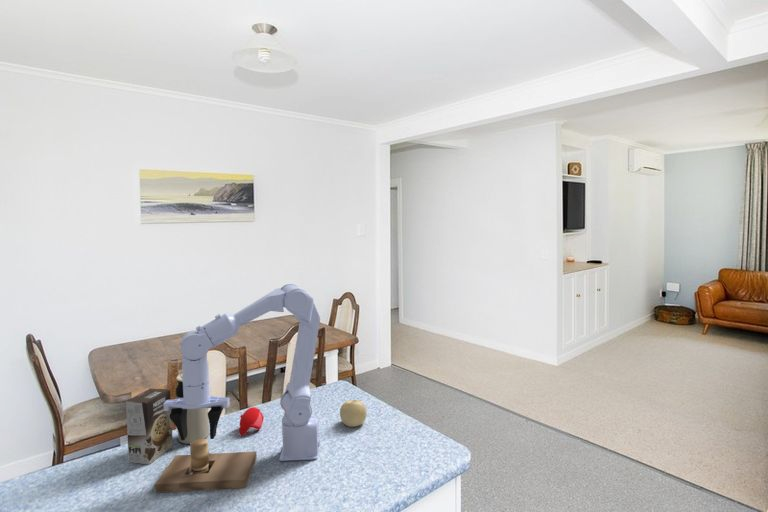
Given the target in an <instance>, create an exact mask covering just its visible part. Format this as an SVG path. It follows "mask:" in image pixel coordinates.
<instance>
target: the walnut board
mask: <svg viewBox="0 0 768 512" xmlns="http://www.w3.org/2000/svg"><path fill="white" fill-rule="evenodd" d="M257 458H258V457H257V451H239V452H236V451H234V452H219V453H218V452H217V453H209V463H208V464H209V468H210V469H209V473H202V474H192V466H191V454H182V455H180V454H178V455H176V454H175V456H174V457H173V458H172V460H171V461H170V462H169V463H168V465H167V466H166V468H165V469H164V471H163V472H162V474H161V475H160V476H159V478H158V479H157V480H156V482H155V483H154V493H155V494H156V493H159V494H160V493H174V492H176V493H177V492H193V491H194V492H195V491H210V490H212V491H213V490H227V489H245V488H247V487H248V486H247V485H248V483H249V479H250V477H251V475H252V472H253V469H254V467H255V464H256V462H257Z"/></svg>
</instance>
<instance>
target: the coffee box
mask: <svg viewBox="0 0 768 512" xmlns="http://www.w3.org/2000/svg"><path fill="white" fill-rule="evenodd" d="M167 400H172V399H171V389H169V388H167V389H166V388H153V387H152V388H148V389H147V390H144V391H143V392H141V393H139V394H137V395H134V396H132V397H131V398H130V399H129V398H128V399H127V400H126V401H125V409H126V411H125V412H126V413H125V414H126V433H127V449H128V450H127V452H128V454H127V456H128V462H129V463H135V464H143V465H151V464H152V463H153V462H155V461H156V460H157V459H159V458H160V457H161V456H163V455H164V454H165V453H166V452H168V451H169V450H170V449H172V448H173V447H174V441H173V421H172V420H171V419H170V417H169V415H170V414H171V410H169V411H164V403H165V402H166V401H167Z"/></svg>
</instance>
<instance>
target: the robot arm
mask: <svg viewBox="0 0 768 512" xmlns="http://www.w3.org/2000/svg"><path fill="white" fill-rule="evenodd" d="M284 308H285V309H286V310H287V311H288V312H289V313H291V314H292V315H293V316H294V317H295V318H296V320H297V321H298V322H299V324H298V331H297V335H296V341H295V342H296V343H295V348H294V353H293V354H294V355H293V360H292V366H291V372H290V378H289V382H287V384H286V388H285V390H284V392H283V394H282V395H281V397H280V407H281V409H282V410H283V412H284V414H283V417H282V418H281V427H282V429H281V430H282V431H281V432H282V433H281V434H282V449H281V453H280V456H279V461H280V462H285V461H286V462H287V461H288V462H291V461H306V460H308V461H309V460H317V459H318V455H319V448H320V444H321V443H320V442H321V441H320V437H319V436H320V434H319V430H320V429H319V418H317V417H312V414H313V408H312V406H311V389H310V382H311V377H312V370H313V364H314V358H315V353H316V347H317V341H318V335H319V329H320V323H321V322H320V321H321V316H320V314H319V312H318V309H317V308H316V305H315V303H314V298H313V297H312V296H311V295H310V294H309V293H308V292H307V291H306V290H305V289H302V288H300V287H298V286H297V285H296V284H293V283H287V284H284V285H282V286H281V287H279V288H275V289H273V290H272V291H270V292H269V293H267V294H265V295H264V296H262V297H261V298H259V299H257V300H256V301H254V302H252V303H251V304H249V305H247V306H246V307H244V308H241V310H239V311H237V312H236V313H234V314H230V313H224V314H222V315H221V313H218V314H217V315H215V316H214V318H215V319H213V320H211V321H209V322H207V323H206V324H203V325H202V326H201V325H198V326H196V328H195V330H190V331H188V332H187V331H186V333H185V334H183V336H182V337H181V340H180V342H179V343H180V351H181V354H182V356H181V361H182V364H181V374H182V378H183V397H184V398H180V399H176V398H175V399H171V400H167V401H166V402H165V403H164V411H169V410H171V414H170V415H169V417H170V419H171V420H172V424H174V426H175V427H176V429H177V433H178V432H179V434H180V437H181V440H185V439H186V437H187V432H188V431H187V409H200V408H208V409H210V410H208V419H209V439H210V440H214V439H215V437H216V435H217V429H218V425H219V424H218V423H219V421H220V417H221V415H222V413H223V411H224V409H228V408H229V407H230V406H231V405H230V404H231V403H230V401H231V400H230V397H226V396H225V397H223V396H213V395H211V393H210V392H211V391H210V390H211V389H210V388H211V387H210V371H209V361H208V352H209V350H210V349H214V348H215V347H217V346H219V345H221V344H223V343H224V342H225V341H228V340H230V339H231V338H233V337H234V336H236V335H238V333H239V330H240V327H242V326H244V325H246V324H248V323H249V322H251V321H254V320H256V319H258V318H260V317H261V316H263V315H266V314H267V313H270V312H277V313H284V312H285V310H284Z"/></svg>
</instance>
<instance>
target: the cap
mask: <svg viewBox="0 0 768 512" xmlns="http://www.w3.org/2000/svg"><path fill="white" fill-rule="evenodd" d="M239 417H240V419H239V429H238V433H239V435H240V436H244V435H246V434H247V433H248V432H249V429H251V428H254V430H257V431H260V430H261V428H262V425H263V422H264V414H263V413H262V412H261V410H260V408H258V407H249V408H247V409H246V410H245V411H244V412H243V414H240V416H239Z"/></svg>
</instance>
